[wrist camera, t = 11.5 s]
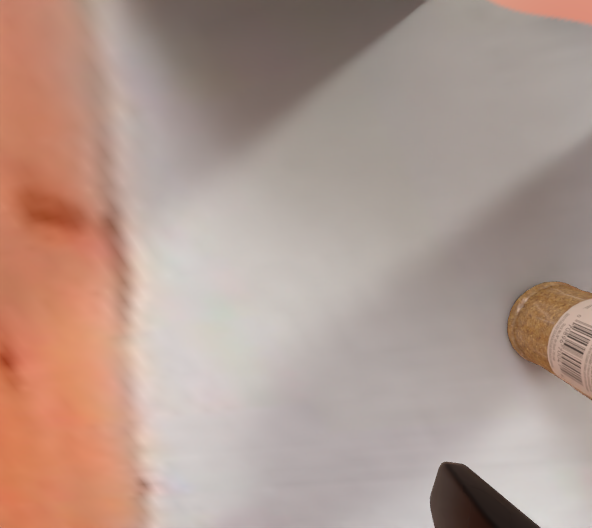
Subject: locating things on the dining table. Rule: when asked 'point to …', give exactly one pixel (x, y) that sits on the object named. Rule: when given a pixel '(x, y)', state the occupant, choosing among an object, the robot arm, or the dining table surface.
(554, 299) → the sprinkles bottle
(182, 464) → the dining table surface
